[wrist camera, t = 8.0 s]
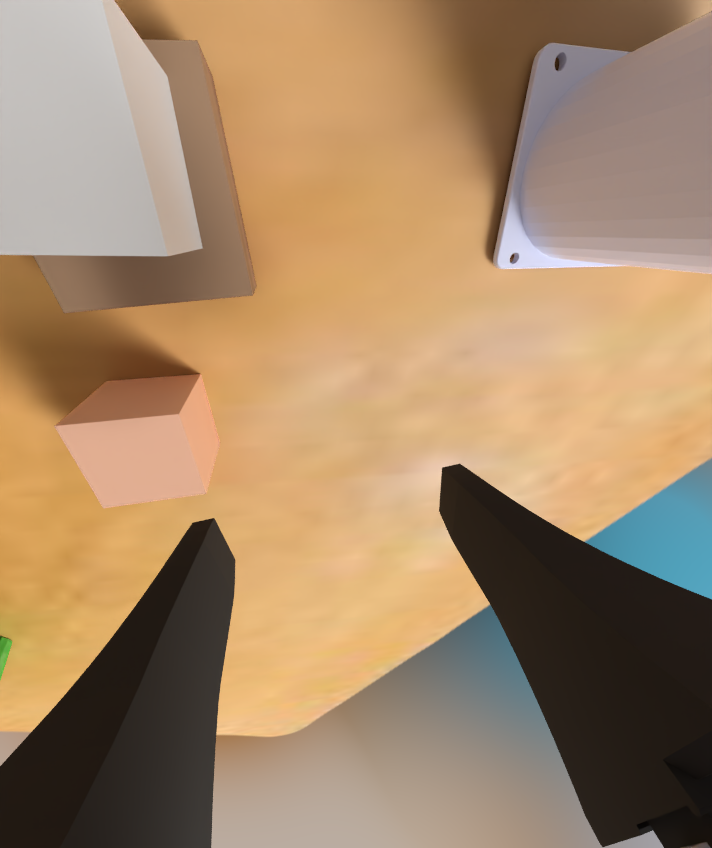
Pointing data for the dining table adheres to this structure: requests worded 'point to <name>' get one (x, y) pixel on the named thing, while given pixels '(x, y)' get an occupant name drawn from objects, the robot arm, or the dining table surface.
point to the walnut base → (213, 201)
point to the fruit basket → (4, 652)
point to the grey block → (87, 137)
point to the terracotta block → (144, 439)
